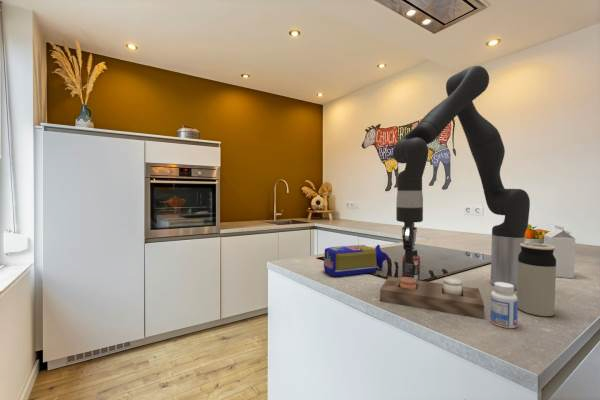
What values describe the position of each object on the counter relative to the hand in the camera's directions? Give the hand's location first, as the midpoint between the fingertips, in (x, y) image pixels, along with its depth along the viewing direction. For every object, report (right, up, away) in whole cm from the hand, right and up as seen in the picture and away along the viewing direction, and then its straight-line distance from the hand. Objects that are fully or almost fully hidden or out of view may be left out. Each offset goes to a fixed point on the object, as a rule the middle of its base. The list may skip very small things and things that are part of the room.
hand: (409, 262), depth 89 cm
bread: (-12, -10, +28) cm, 32 cm away
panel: (+5, -11, -2) cm, 12 cm away
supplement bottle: (+7, -10, +17) cm, 21 cm away
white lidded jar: (+10, -9, -5) cm, 15 cm away
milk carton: (+66, -10, +24) cm, 71 cm away
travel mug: (+31, -11, -10) cm, 34 cm away
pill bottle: (+17, -12, -17) cm, 27 cm away
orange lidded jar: (0, -10, 0) cm, 10 cm away
